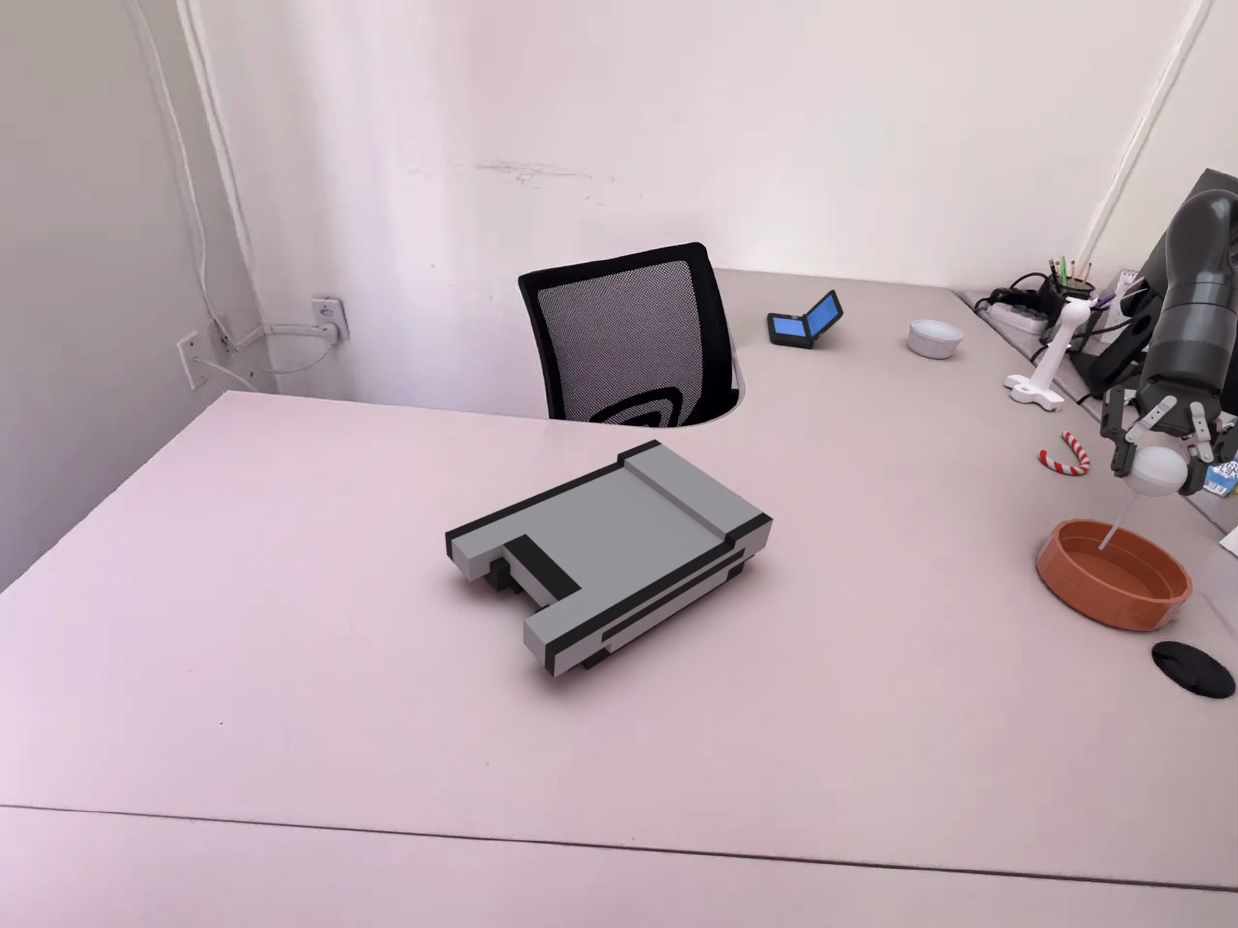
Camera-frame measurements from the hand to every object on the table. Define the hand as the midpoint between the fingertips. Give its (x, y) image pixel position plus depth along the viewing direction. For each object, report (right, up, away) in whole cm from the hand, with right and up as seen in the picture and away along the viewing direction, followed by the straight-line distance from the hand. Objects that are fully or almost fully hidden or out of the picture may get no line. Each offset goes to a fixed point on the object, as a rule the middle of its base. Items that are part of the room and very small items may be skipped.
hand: (1153, 484), depth 74 cm
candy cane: (+16, +4, +39) cm, 42 cm away
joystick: (+20, +15, +56) cm, 62 cm away
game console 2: (-62, -11, +5) cm, 63 cm away
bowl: (+2, -14, +11) cm, 18 cm away
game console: (-21, +31, +73) cm, 82 cm away
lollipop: (0, -8, +8) cm, 12 cm away
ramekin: (+8, +28, +72) cm, 77 cm away
